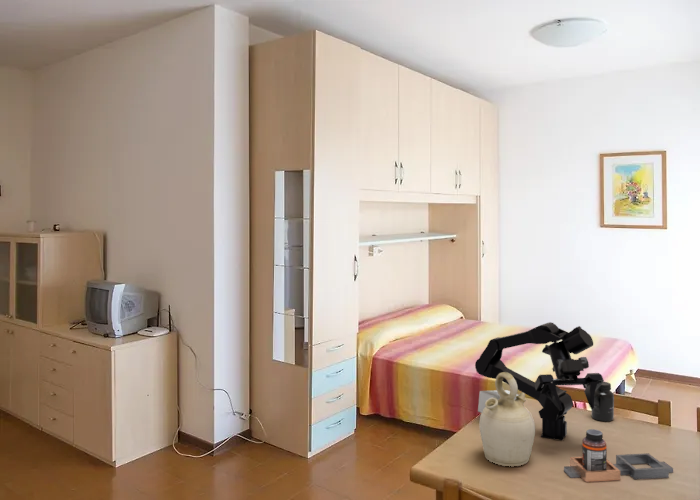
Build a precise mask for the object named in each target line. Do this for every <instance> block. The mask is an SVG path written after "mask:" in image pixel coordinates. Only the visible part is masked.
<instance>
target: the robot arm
mask: <svg viewBox="0 0 700 500" xmlns="http://www.w3.org/2000/svg"><path fill="white" fill-rule="evenodd" d="M548 343H550V344H548ZM528 344H534V345H545V346H544V347H543V349H542V351H541V352H542V353H543V354H545V355H548V356H550V360H551V364H552V368H551V370H552V372H553V373H554V374H555V377H556V378H554V377H553V375H552V374H551V373H550V374H538V376H537V377H536V380H535V381H533V380H531V379H530V378H528V377H526V376H524V375H522V374H520V373H518V372H516V371H514V370H512V369H510V368H509V367H507V366H506V364H505V363H504V361H502V360H501V359H502V358H503V357H502V356H503V350H504V349H508V348H513V347H517V346H518V347H519V346H523V345H528ZM593 346H594V340H593V337H592V336H591V335H590V334H589V333H588V332H587V331H586V330H585V329H583V328H582V326H580V325H578V326H576V327H573V329H572V330H571V331H567V330H564V329H562V328H559V326H557V324H555V323H554V322H551V321H549V322H546V323H543V324H540V325H538V326H536V327H533V328H530V329H529V330H527V331H523V332H519V333H514V334H509V335H505V336H500V337H499V336H498V337H495V338H492V339H490V340H489V342H488V343H487V346H486V347H485V348H484V350H483V351H482V352H481V354H480V356H479V358H477V360H476V361H475V365H474V366H475V370H476V373H478V374H479V375H480V376H482V377H486V378H488V379H494V380H496V377H497V376H498V374H500V373H502V372H508V373H510V374H511V375H512V376H513V377H514V379H515V380H516V383H517V387H518V391H519V392H520V393H521V392H523V393H525V395H527V396H528V397H530V398H533V399H534V400H536V401H537V403H539V404H540V405H541V406H542V408H541V409H539V410H538V415H539V417H540V419H541V421H542V423H541V424H542V425H541V430H542V431H541V434H540V437H541V438H543V439H544V438H545V439H551V440H557V441H564V438H566V436H567V434H568V432H567V431H568V428H567V427H568V421H567V420H566V416H565V415H566V414H567V413H568V411H570V410H571V409H572V408H573V405H574V402H573V398H572V396H571V395H570V393H569V394H568V393H567V390H563V389H561V388H560V387H558V386H578V385H579V386H583V389H584V391H583V392H584V395H585V397H586V400H587V403H588V406H589V408H590V409H591V411H592V410H593V409H594V396H595V391H596V389H598V388H599V387H600V386H601V384H602V383H603V382H605V380H604V377H603V375H602V374H601V373H599V372H589V373H586V375H585V376H584V377H578V376H580V375H581V372H584V369H585V370H586V369H588V368H589V367H590V365H589V359H588V358H587V356H581V357H578V358H577V359H574V358H572V356H571V354H573V355H578V354H581V353H582V352H584V351H586V350H588V349H590V348H591V347H593ZM502 383H505V384H506V385H509V383H508V381H507V380H506V379H505V378H503V381H502Z"/></svg>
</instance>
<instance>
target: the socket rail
mask: <svg viewBox="0 0 700 500" xmlns="http://www.w3.org/2000/svg"><path fill="white" fill-rule="evenodd" d="M641 464H643V465H645V464H646V465H648V466H650V467H644V468H642V467H641V468H640V467H638V468H637V467H635V466H633V465H641ZM563 472H564V473H565V474H566V475H567V476H568V477H569V478H570V479H573V478H574V479H575V478H581V479H582V480H583V481H584V482H585V483H588V482H589V483H591V482H592V483H594V482H608V481H609V482H611V481H621V476H630V477H631V478H632V479H633V480H646V479H647V480H649V479H650V480H651V479H668V478H669V477H670V473H671V474H672V473H674V468H673V467H672V466H671V465H670V464H669V463H667V462H665V461H660V460H658V459H657V458H655V457H654V456H653V455H651V454H650V453H645V452H644V453H632V454H631V453H627V454H626V453H625V454H616V455H615V463H612V462H611V461H610V460H608V458H606V470H599V471H587V470H586V469H585V468H584V467H583V466H582V456H570V457H569V465H568V466H563Z"/></svg>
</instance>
